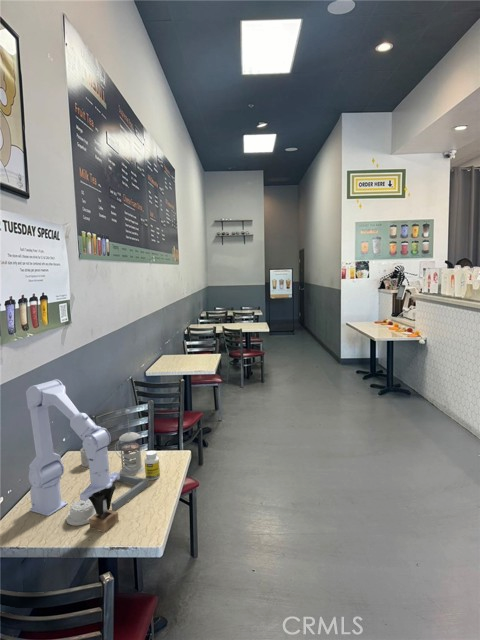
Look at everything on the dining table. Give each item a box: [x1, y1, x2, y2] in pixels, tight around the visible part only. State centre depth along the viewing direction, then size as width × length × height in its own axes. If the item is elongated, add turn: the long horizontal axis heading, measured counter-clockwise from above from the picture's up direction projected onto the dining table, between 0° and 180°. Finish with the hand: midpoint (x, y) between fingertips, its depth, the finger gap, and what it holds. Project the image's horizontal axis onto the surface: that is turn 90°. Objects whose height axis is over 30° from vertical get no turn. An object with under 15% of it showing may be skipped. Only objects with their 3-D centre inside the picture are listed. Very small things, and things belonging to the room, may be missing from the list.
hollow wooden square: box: [88, 509, 119, 533], centre depth 124 cm, size 6×6×3 cm
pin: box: [100, 497, 108, 518], centre depth 123 cm, size 2×2×6 cm
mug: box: [79, 447, 89, 468], centre depth 170 cm, size 10×7×7 cm, turn 167°
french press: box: [114, 409, 145, 476], centre depth 160 cm, size 10×12×25 cm
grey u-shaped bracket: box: [88, 474, 149, 511], centre depth 142 cm, size 15×17×2 cm
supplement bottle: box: [144, 450, 161, 481], centre depth 153 cm, size 5×5×10 cm
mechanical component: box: [65, 499, 96, 526], centre depth 129 cm, size 10×4×10 cm
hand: (103, 511), depth 123 cm, fingers closed on pin, 2 cm apart
